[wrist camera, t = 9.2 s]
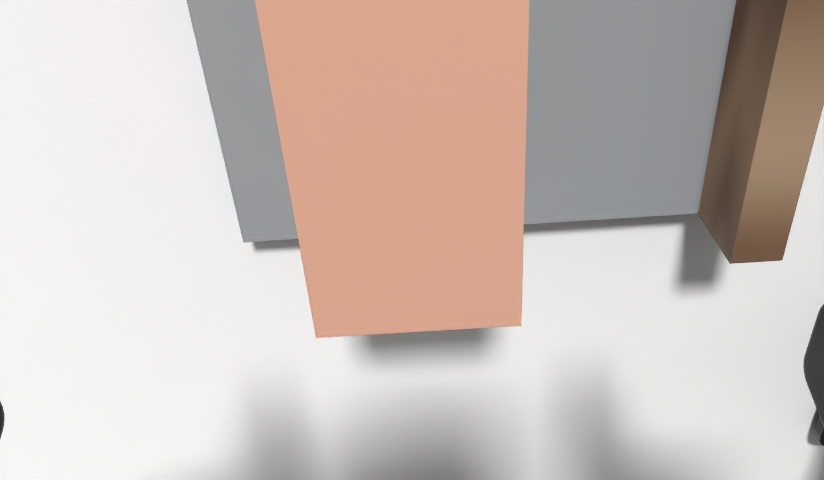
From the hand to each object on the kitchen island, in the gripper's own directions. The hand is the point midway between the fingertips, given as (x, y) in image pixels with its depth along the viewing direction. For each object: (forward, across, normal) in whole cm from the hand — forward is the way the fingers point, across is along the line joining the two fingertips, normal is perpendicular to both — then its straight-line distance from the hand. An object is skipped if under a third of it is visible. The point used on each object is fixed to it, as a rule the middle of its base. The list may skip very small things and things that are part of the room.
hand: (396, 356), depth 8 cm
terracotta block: (+10, 0, 0) cm, 10 cm away
